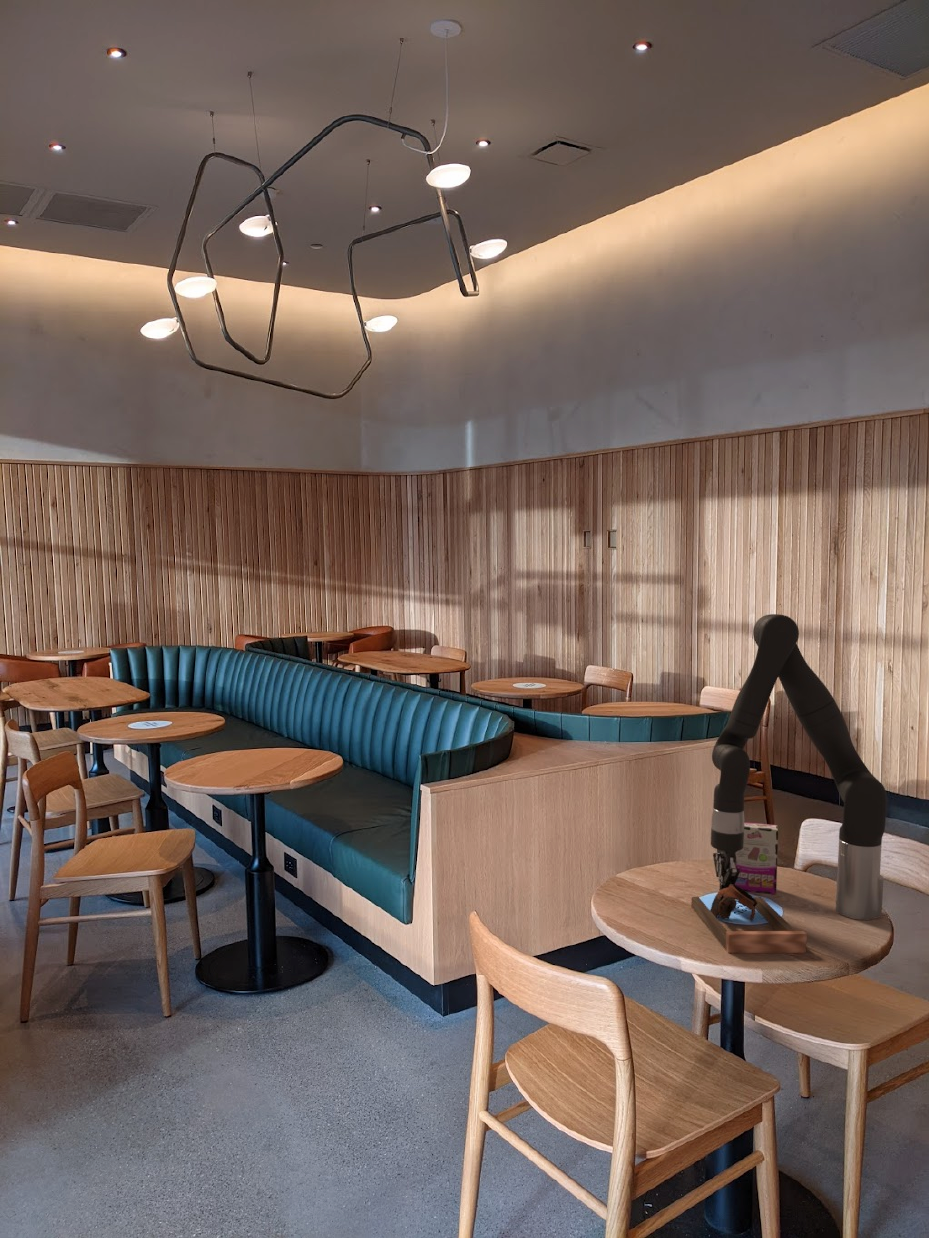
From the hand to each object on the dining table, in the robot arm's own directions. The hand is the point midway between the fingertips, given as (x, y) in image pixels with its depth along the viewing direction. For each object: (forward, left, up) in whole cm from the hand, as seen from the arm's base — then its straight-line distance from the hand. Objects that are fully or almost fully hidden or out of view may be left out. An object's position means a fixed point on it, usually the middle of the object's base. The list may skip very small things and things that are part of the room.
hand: (724, 898), depth 225 cm
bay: (0, +14, -2) cm, 14 cm away
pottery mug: (+1, +8, -2) cm, 8 cm away
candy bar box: (-11, -11, -2) cm, 16 cm away
